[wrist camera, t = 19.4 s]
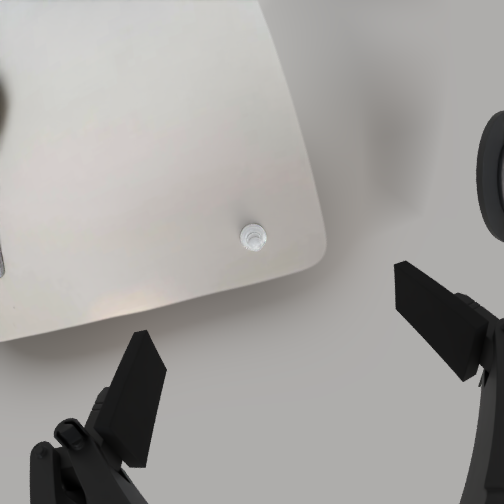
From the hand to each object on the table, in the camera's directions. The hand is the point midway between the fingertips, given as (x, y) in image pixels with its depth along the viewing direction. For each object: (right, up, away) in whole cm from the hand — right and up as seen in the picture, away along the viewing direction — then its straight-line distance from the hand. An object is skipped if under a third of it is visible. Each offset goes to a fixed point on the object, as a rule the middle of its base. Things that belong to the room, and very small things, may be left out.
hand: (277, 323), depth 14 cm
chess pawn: (-1, +5, +16) cm, 17 cm away
